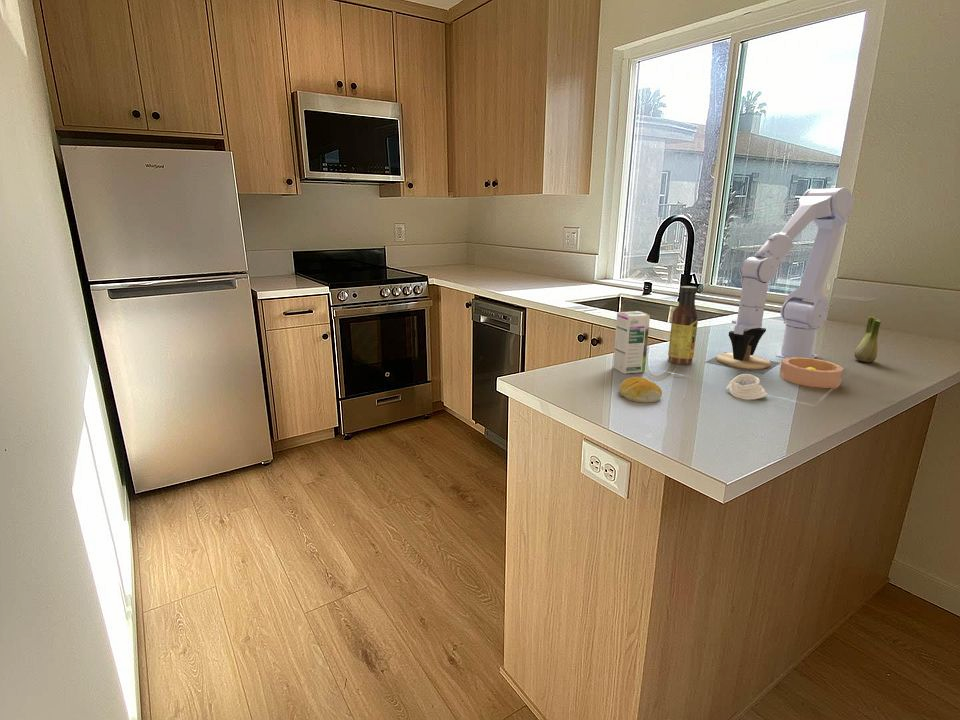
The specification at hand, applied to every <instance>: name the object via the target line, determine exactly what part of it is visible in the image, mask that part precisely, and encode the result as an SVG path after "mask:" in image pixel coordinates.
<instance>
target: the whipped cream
mask: <svg viewBox="0 0 960 720" xmlns="http://www.w3.org/2000/svg"><path fill="white" fill-rule="evenodd" d="M760 382H761V380H760V378H759V377H758V376H755V375H754V374H749V373H742V374H739V375H737V376H734V378H732V380H730V381H729V383H728V385H727V386H726V390H728V392H729V393H730V394H731V395H732V396H733V397H735V398H738V399H742V400H746V401H747V400H748V401H751V400H758V399H762V398H765V397H767V396H768V392H766V389H765V388H764V387H763V386H762V385H761V384H760Z"/></svg>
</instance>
